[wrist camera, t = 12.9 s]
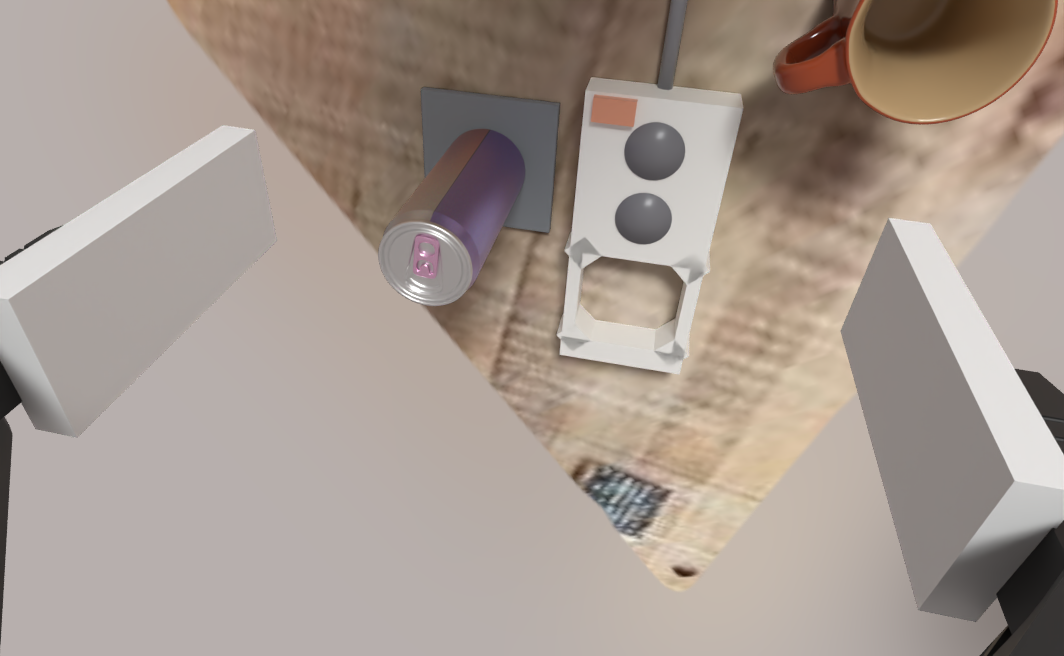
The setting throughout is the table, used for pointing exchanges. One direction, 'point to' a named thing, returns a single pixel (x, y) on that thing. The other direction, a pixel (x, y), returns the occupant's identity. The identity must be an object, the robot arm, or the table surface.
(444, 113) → the coaster
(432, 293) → the beverage can
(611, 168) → the strip dock
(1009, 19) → the mug
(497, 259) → the table surface
